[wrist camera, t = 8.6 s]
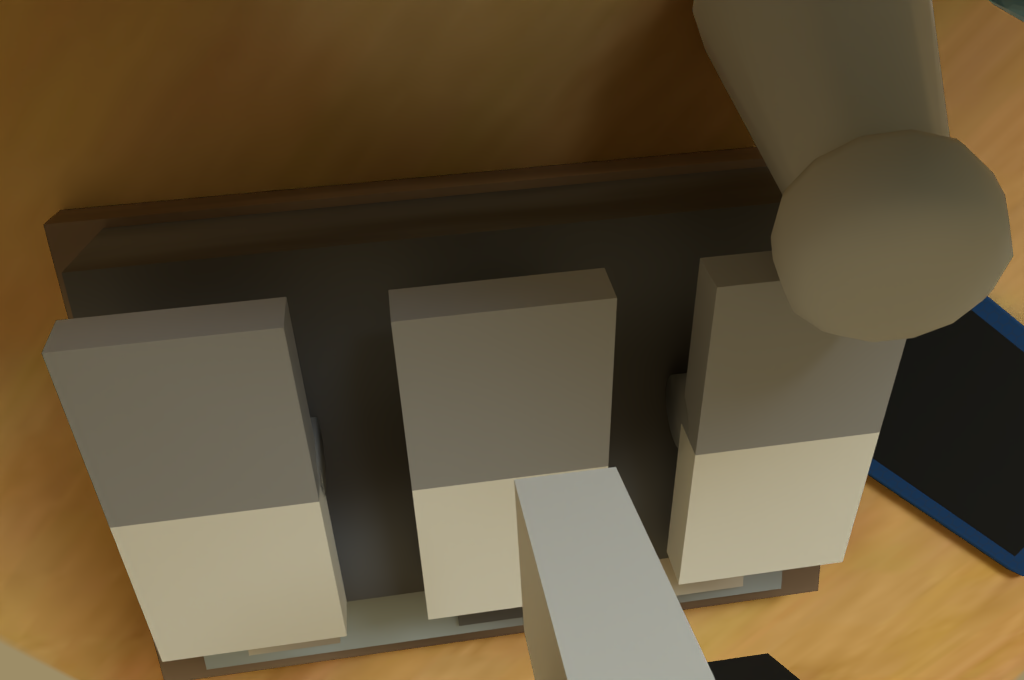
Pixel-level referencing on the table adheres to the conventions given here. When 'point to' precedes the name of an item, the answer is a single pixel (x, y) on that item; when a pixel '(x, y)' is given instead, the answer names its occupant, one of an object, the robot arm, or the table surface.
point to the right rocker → (768, 428)
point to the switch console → (370, 349)
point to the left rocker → (206, 471)
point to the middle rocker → (497, 415)
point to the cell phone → (961, 431)
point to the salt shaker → (861, 162)
